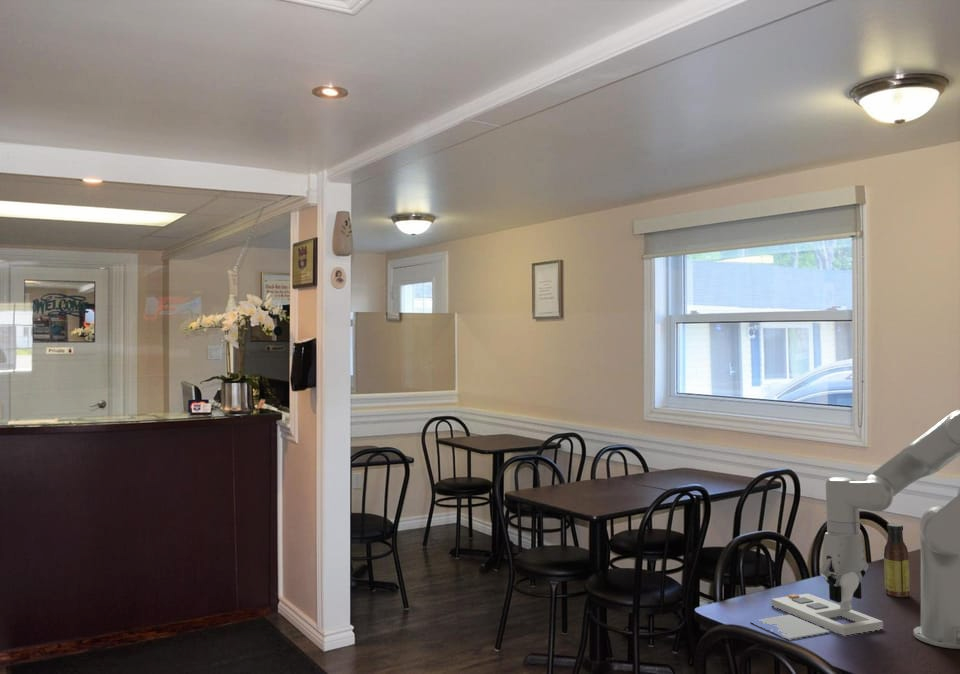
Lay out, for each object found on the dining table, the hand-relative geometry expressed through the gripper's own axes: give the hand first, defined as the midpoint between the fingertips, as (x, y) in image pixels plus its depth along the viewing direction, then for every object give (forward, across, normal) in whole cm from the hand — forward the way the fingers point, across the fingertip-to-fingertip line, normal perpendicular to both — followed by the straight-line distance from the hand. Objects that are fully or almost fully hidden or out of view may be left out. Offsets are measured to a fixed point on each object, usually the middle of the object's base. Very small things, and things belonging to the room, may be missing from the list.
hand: (845, 598), depth 198 cm
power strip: (+6, +1, -6) cm, 9 cm away
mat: (+6, +15, -4) cm, 17 cm away
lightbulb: (+3, 0, 0) cm, 3 cm away
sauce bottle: (+7, -33, -13) cm, 36 cm away
